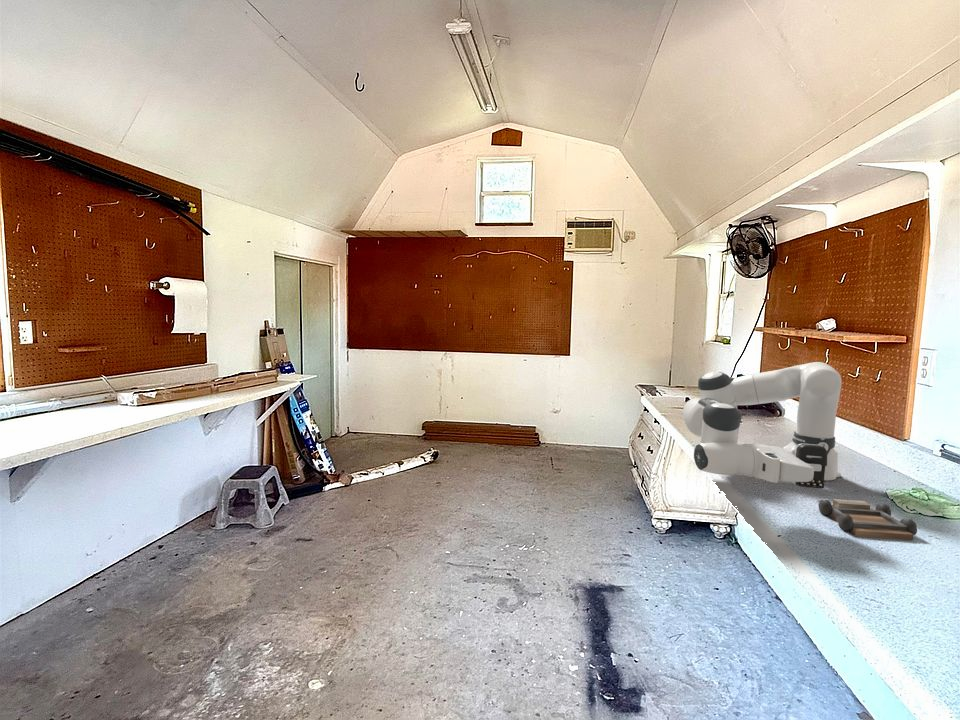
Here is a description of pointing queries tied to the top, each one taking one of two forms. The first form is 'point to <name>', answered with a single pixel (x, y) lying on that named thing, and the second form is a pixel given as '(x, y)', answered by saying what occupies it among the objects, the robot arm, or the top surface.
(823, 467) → the battery
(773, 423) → the top surface
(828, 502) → the chassis
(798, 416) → the robot arm
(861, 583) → the top surface
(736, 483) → the top surface
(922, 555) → the top surface
